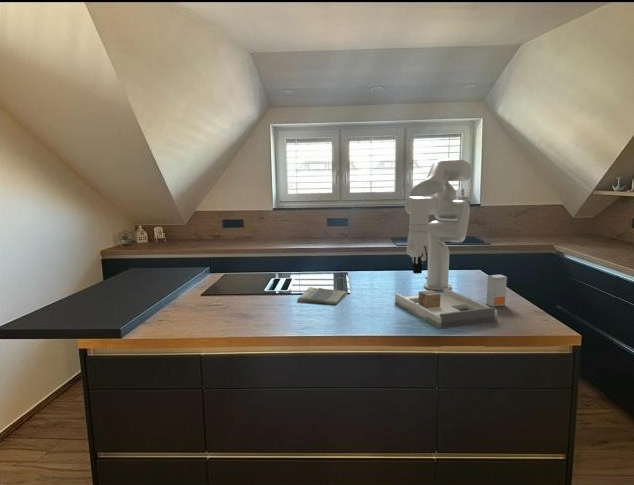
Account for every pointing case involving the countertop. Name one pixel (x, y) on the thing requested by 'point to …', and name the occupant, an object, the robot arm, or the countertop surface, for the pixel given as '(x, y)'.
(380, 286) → the countertop surface
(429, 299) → the block
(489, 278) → the skincare box
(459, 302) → the box
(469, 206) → the robot arm
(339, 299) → the dish towel
